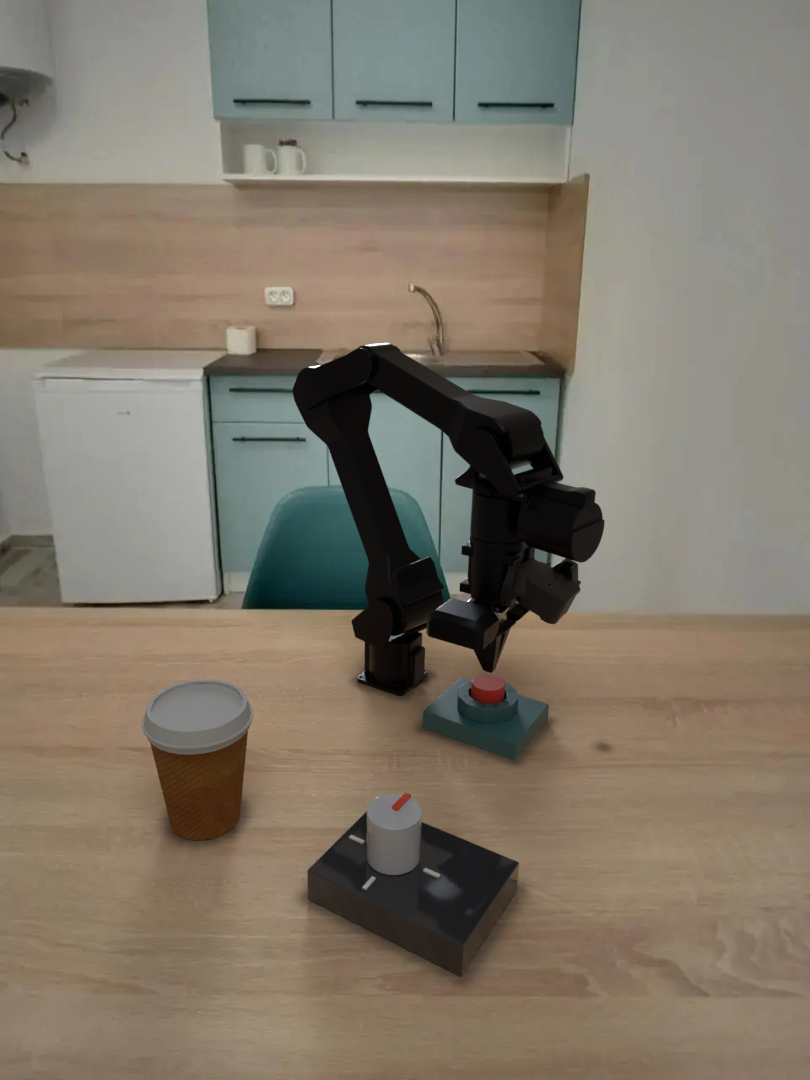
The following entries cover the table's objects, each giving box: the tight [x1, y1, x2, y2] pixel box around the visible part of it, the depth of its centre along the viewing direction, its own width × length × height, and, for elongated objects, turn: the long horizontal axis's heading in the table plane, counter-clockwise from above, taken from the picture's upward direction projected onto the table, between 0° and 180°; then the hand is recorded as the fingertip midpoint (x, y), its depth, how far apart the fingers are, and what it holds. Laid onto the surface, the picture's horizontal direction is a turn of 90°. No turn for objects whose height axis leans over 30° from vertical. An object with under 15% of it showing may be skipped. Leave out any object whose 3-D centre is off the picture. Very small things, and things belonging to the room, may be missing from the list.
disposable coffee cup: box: [141, 678, 254, 841], centre depth 74 cm, size 10×10×12 cm
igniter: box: [422, 676, 550, 762], centre depth 91 cm, size 11×9×4 cm
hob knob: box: [366, 791, 423, 875], centre depth 67 cm, size 4×4×5 cm
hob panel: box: [306, 810, 520, 977], centre depth 67 cm, size 14×10×3 cm
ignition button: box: [471, 673, 506, 704], centre depth 90 cm, size 4×4×2 cm
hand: (488, 670), depth 89 cm, fingers closed
